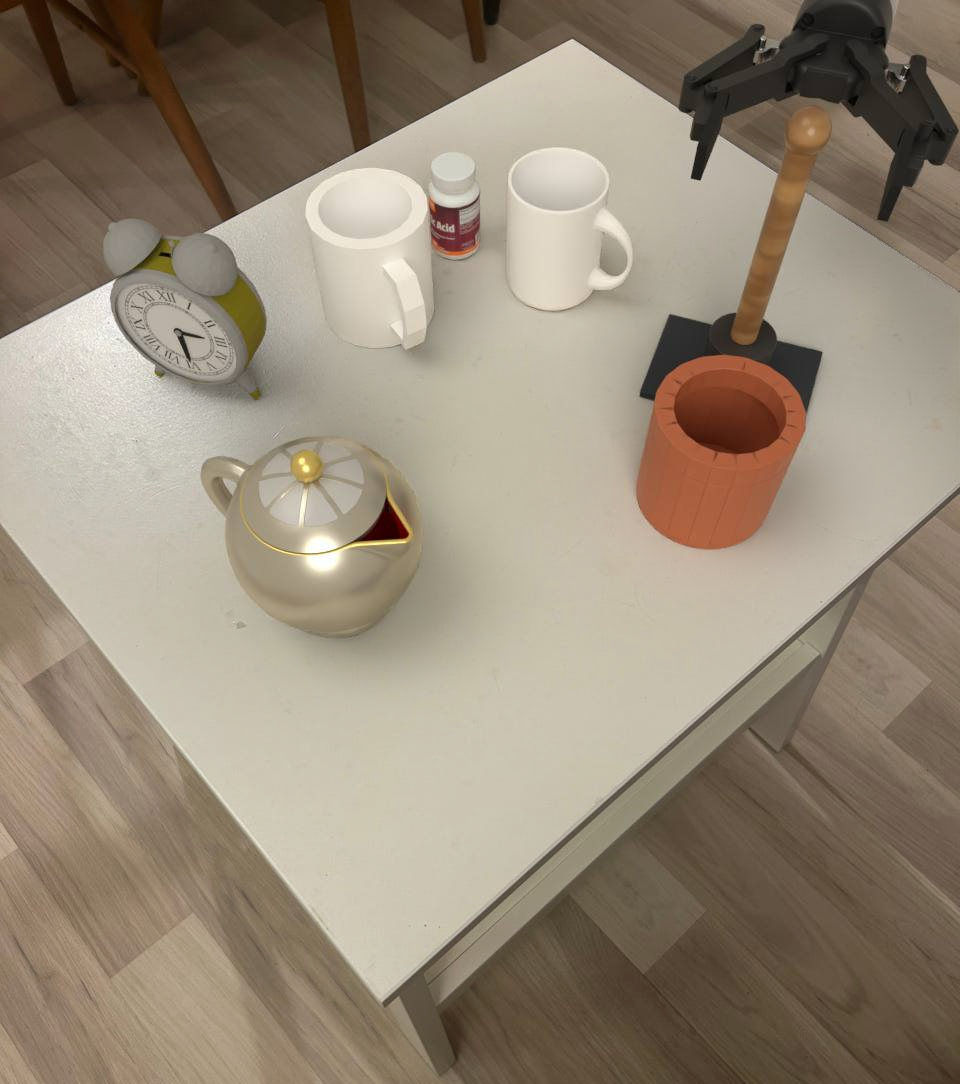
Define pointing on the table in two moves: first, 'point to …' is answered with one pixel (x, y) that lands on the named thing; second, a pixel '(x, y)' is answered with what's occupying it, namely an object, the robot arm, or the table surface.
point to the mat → (689, 343)
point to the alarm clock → (184, 304)
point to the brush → (772, 242)
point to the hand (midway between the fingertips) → (792, 183)
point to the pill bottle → (454, 206)
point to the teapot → (319, 532)
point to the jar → (718, 450)
